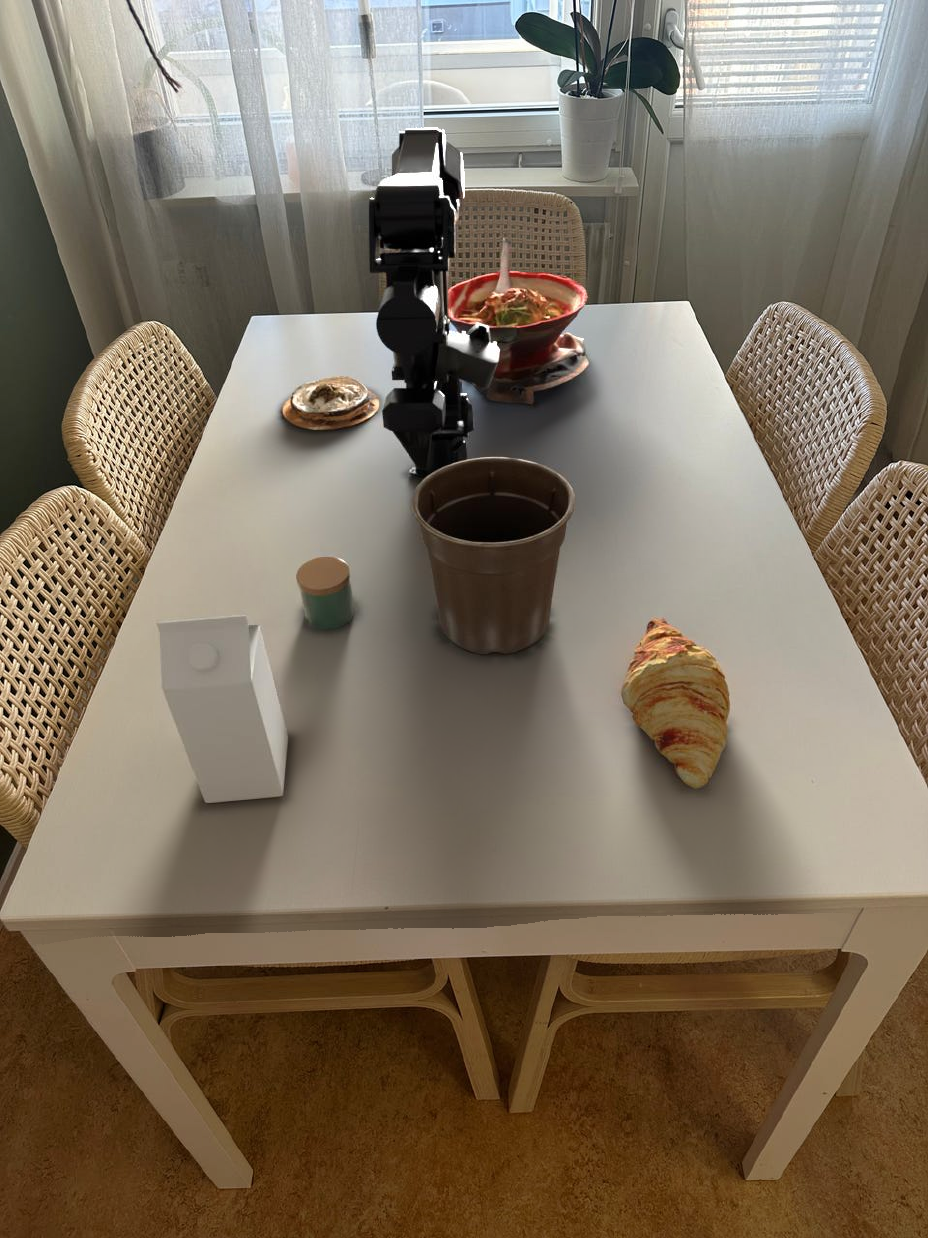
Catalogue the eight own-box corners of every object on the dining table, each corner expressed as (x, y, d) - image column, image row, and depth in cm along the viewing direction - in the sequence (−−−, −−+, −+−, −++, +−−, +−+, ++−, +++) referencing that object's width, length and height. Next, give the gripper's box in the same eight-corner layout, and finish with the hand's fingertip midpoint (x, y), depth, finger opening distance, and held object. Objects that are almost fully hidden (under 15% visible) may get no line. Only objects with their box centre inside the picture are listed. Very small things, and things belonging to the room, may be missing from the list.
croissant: (722, 818, 80) (779, 769, 76) (630, 792, 77) (684, 738, 72) (673, 656, 96) (718, 607, 91) (596, 629, 93) (637, 576, 88)
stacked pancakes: (370, 379, 143) (368, 355, 141) (386, 422, 132) (384, 397, 130) (280, 392, 141) (275, 368, 138) (288, 436, 130) (284, 411, 127)
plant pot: (477, 558, 106) (473, 440, 95) (594, 604, 99) (604, 482, 88) (393, 633, 96) (378, 511, 86) (516, 691, 89) (517, 565, 78)
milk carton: (215, 745, 85) (164, 594, 72) (288, 738, 85) (250, 587, 73) (205, 804, 79) (148, 653, 67) (283, 797, 80) (241, 645, 67)
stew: (457, 329, 158) (453, 236, 147) (591, 332, 154) (597, 237, 144) (431, 402, 137) (424, 300, 126) (585, 407, 134) (592, 303, 123)
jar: (294, 620, 98) (285, 579, 95) (325, 591, 102) (317, 550, 98) (335, 636, 96) (327, 595, 92) (365, 606, 100) (359, 565, 96)
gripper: (489, 352, 83) (492, 491, 94) (497, 282, 98) (499, 410, 108) (374, 352, 84) (389, 491, 94) (399, 283, 98) (409, 410, 109)
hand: (426, 447), depth 101 cm, fingers open, 9 cm apart
